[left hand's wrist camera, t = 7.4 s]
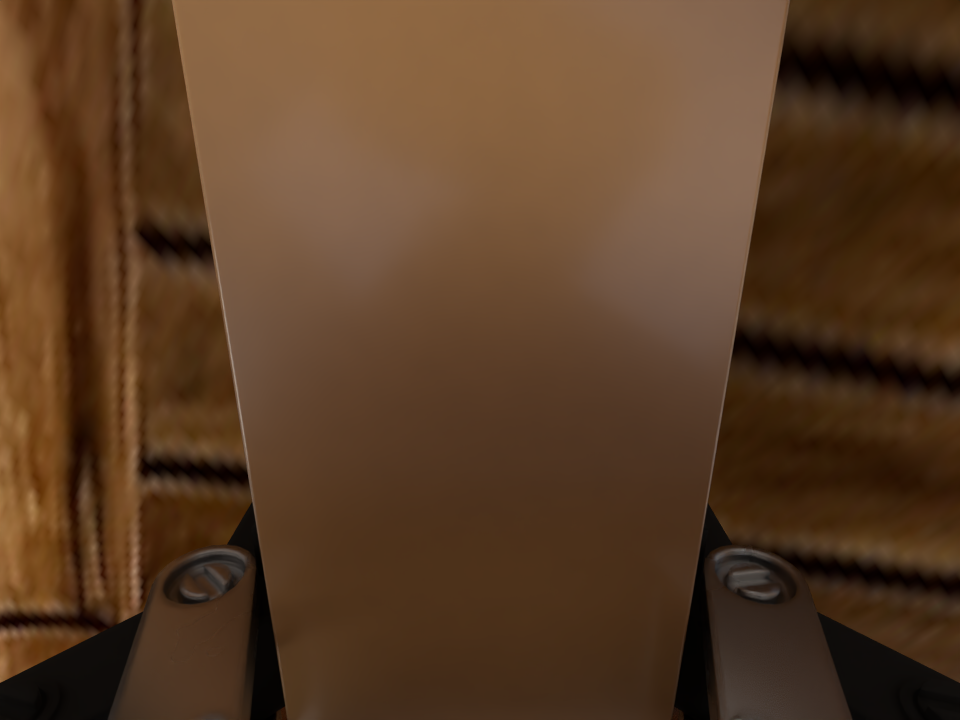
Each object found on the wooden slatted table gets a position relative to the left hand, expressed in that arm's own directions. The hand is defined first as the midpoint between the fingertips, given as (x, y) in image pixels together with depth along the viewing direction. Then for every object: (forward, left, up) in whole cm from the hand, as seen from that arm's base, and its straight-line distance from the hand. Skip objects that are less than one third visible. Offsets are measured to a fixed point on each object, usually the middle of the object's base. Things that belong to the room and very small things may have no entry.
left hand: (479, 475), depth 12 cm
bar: (+26, +12, -2) cm, 29 cm away
